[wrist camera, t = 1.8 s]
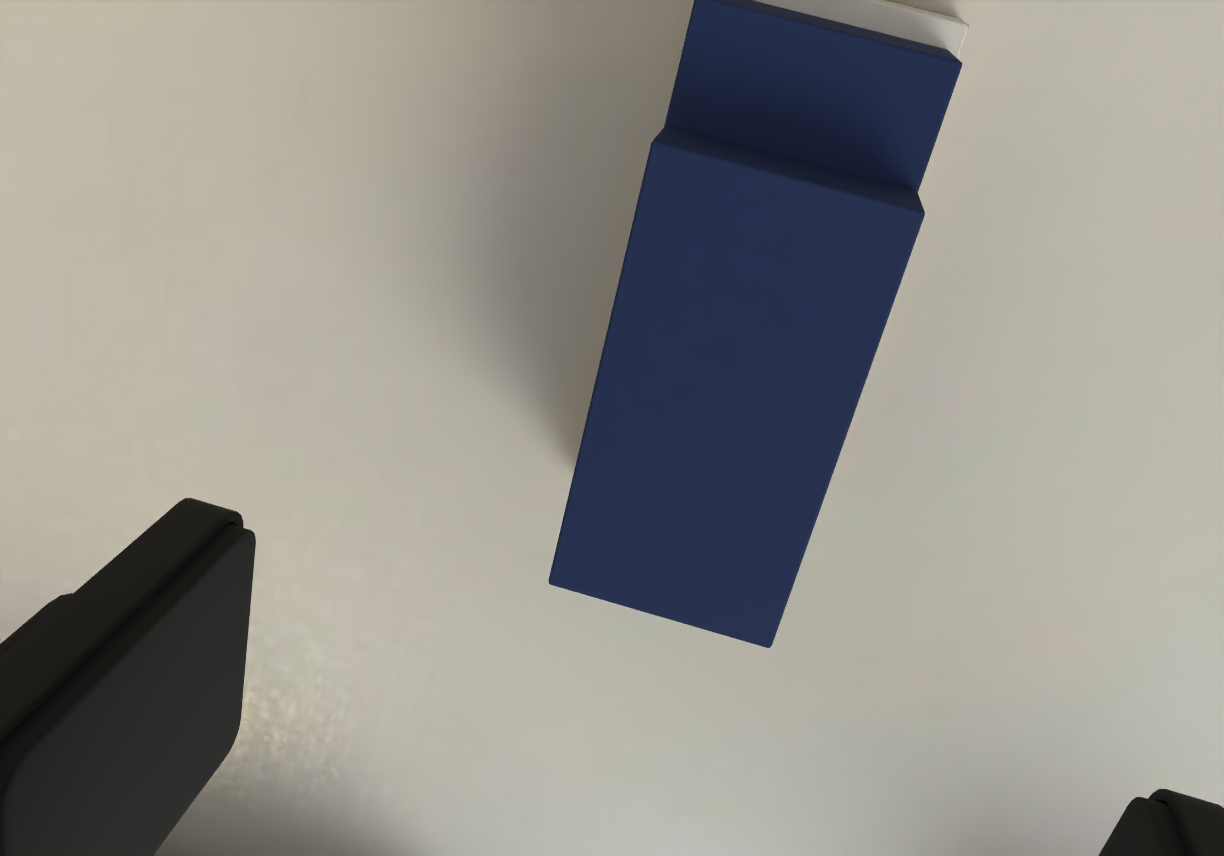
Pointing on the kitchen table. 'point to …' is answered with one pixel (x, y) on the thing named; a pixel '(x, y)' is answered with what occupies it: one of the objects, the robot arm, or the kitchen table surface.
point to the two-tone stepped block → (752, 302)
